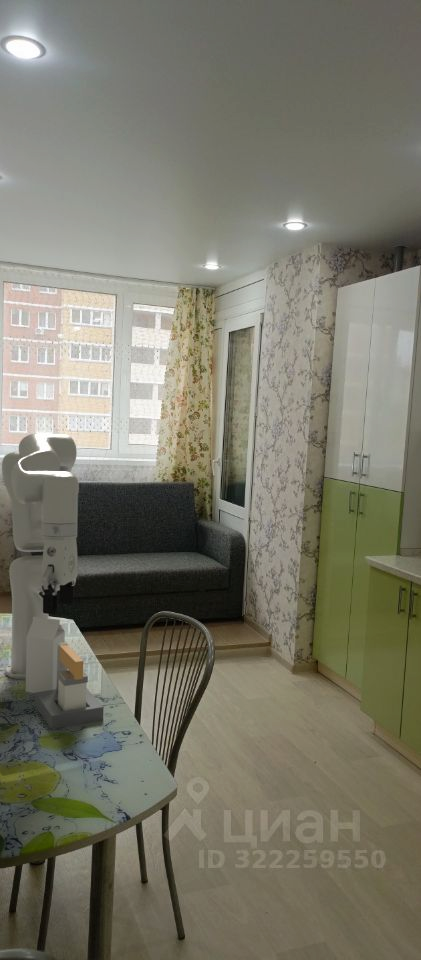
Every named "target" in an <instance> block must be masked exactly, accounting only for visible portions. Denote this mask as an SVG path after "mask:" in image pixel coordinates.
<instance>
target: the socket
mask: <svg viewBox="0 0 421 960" xmlns="http://www.w3.org/2000/svg"><path fill="white" fill-rule="evenodd" d="M102 704H103V703H101V702H100V701H99V700H98V699H97V698H96V697H95V696H94V694H92V692H91V691H90V690H89V689H88V688H87V687H86V708H80V709H74V710H69V711H63V712H62V711H61V709H60V708H59V707H58V691H57V690H56V689H54V690H48V691H42V692H35V693H34V707H36V709H37V710H38V711H39V714H40V715H41V716H42V717H43V718H44V721H45V722H46V723H47V725H48V726H49V728H50V729H51V730H53V729H59V728H65V727H70V726H76V725H81V724H87V723H92V722H96V721H97V722H98V721H103V720H104V705H102Z"/></svg>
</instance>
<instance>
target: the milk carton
mask: <svg viewBox="0 0 421 960" xmlns="http://www.w3.org/2000/svg"><path fill="white" fill-rule="evenodd" d="M60 621H61V619H59V618H58V619H57V618H39V617H33V622H32V625H31V627H30V630H29V632H28V634H27V645H26V679H25V693H32V694H35V692H42V691H48V690H54V689H56V688H57V644H58V643H66V641H65V640H66V639H65V638H66V632H65V629H64V628H63V626H62V625H61V624H60V623H61V622H60Z"/></svg>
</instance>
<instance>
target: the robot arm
mask: <svg viewBox="0 0 421 960" xmlns="http://www.w3.org/2000/svg"><path fill="white" fill-rule="evenodd" d="M76 459H77V446H76V443H75V440H74V439H73V438H72V437H71V436H70V435H69V434H64V433H63V434H61V433H60V434H59V433H31V434H28V435H26V436H25V437H23V438H22V439H21V440H20V441H19V444H18V451H13V452H9V453H7V454H6V455H4V456H3V459H2V462H1V472H2V479H3V485H4V486H5V489H6V492H7V494H8V496H9V499H10V503H11V515H12V517H11V518H12V519H11V520H12V536H13V542H14V543H13V544H14V547H15V549H16V550H18V551H20V552H23V553H25V552H27V553H31V552H32V553H34V552H36V553H37V552H39V553H41V552H42V555H29V556H27V555H26V556H21V557H18V558H16V559H14V560H13V561H12V562H11V563H10V565H9V569H8V570H9V571H8V572H9V574H8V575H9V580H10V581H9V583H10V590H11V603H12V604H11V605H12V607H11V609H12V610H11V657H10V658H11V661H10V663H9V664H8V665H6V666H5V668H4V669H5V672H4V673H5V675H6V676H8V678H9V677H10V678H12V679H15V680H17V679H18V680H26V645H27V634H28V632H29V630H30V627H31V625H32V622H33V617H39V618H49V617H50V616H49V615H57V614H58V613H59V603H60V604H69V605H71V604H73V603H74V601H75V595H74V594H75V585H76V582H77V578H78V575H79V570H78V569H79V566H78V565H79V563H78V559H79V558H78V546H77V545H78V544H77V539H78V516H79V515H78V508H79V507H78V505H79V503H78V501H79V493H80V491H79V490H80V485H79V484H80V483H79V479H78V478H77V476H76V475H75V474H74V473H72V472H71V471H72V469H73V467H74V465H75V462H76ZM58 591H59V594H58ZM40 593H42V596H41V595H40ZM49 619H50V618H49Z"/></svg>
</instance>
